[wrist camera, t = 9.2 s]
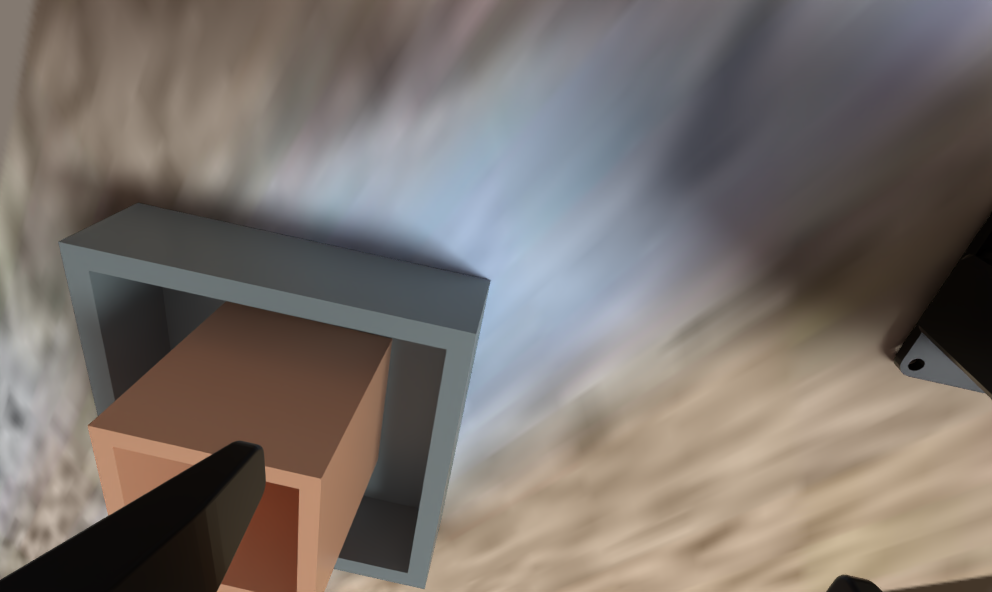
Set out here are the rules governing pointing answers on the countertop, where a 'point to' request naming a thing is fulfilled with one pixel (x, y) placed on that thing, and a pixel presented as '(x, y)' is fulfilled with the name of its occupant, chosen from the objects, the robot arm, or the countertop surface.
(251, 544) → the small crate
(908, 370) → the robot arm
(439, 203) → the countertop surface
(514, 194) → the countertop surface
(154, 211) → the large crate
